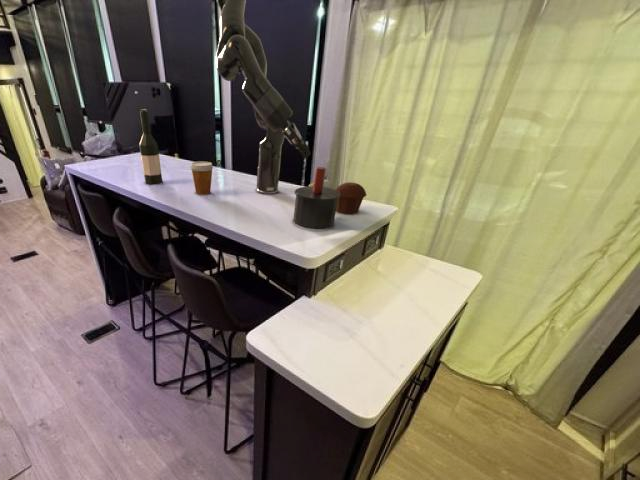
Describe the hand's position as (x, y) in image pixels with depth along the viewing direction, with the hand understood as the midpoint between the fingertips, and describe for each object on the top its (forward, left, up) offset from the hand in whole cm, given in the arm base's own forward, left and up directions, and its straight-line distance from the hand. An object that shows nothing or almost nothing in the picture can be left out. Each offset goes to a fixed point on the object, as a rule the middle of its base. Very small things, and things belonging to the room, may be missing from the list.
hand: (307, 153), depth 96 cm
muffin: (-2, +24, -22) cm, 33 cm away
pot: (+3, +4, -22) cm, 23 cm away
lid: (+3, +4, -12) cm, 13 cm away
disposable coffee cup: (-47, -17, -22) cm, 55 cm away
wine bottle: (-73, -32, -22) cm, 83 cm away
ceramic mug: (-16, +23, -22) cm, 36 cm away
